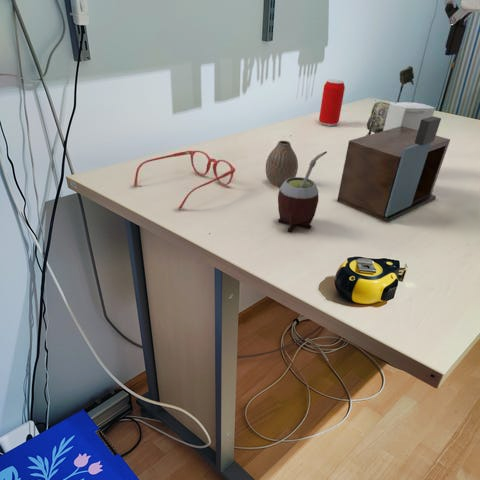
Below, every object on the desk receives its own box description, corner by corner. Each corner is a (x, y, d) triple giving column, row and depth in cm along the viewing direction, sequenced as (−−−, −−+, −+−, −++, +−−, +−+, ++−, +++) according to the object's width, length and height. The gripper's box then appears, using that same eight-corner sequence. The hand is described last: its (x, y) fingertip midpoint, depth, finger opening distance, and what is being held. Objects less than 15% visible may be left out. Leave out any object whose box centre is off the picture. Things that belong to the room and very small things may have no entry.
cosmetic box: (386, 177, 98) (405, 108, 89) (372, 168, 102) (388, 101, 93) (416, 174, 100) (437, 106, 91) (400, 166, 105) (419, 100, 95)
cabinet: (435, 199, 90) (455, 140, 82) (387, 222, 80) (405, 158, 72) (386, 181, 96) (401, 125, 89) (336, 201, 87) (348, 140, 79)
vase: (287, 192, 89) (292, 149, 84) (258, 185, 92) (261, 143, 86) (300, 182, 94) (306, 141, 88) (272, 175, 96) (276, 135, 91)
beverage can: (338, 122, 134) (346, 79, 126) (337, 127, 129) (345, 83, 121) (319, 120, 135) (325, 77, 127) (317, 125, 130) (324, 81, 122)
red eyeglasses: (242, 190, 89) (243, 167, 86) (183, 212, 80) (181, 186, 77) (189, 167, 98) (188, 145, 95) (130, 184, 89) (127, 160, 86)
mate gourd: (282, 213, 81) (291, 131, 72) (322, 222, 79) (337, 138, 70) (269, 229, 76) (277, 143, 66) (311, 239, 74) (326, 151, 64)
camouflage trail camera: (359, 146, 116) (377, 61, 103) (402, 151, 114) (425, 66, 101) (357, 155, 110) (376, 66, 97) (402, 161, 108) (427, 71, 95)
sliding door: (413, 206, 83) (442, 117, 73) (389, 218, 79) (416, 125, 69) (406, 203, 84) (433, 115, 74) (382, 214, 80) (407, 123, 69)
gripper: (614, -93, 53) (547, 64, 64) (479, -86, 63) (441, 50, 74) (594, -100, 49) (527, 69, 60) (454, -91, 59) (418, 53, 70)
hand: (479, 58), depth 67 cm, fingers open, 9 cm apart
